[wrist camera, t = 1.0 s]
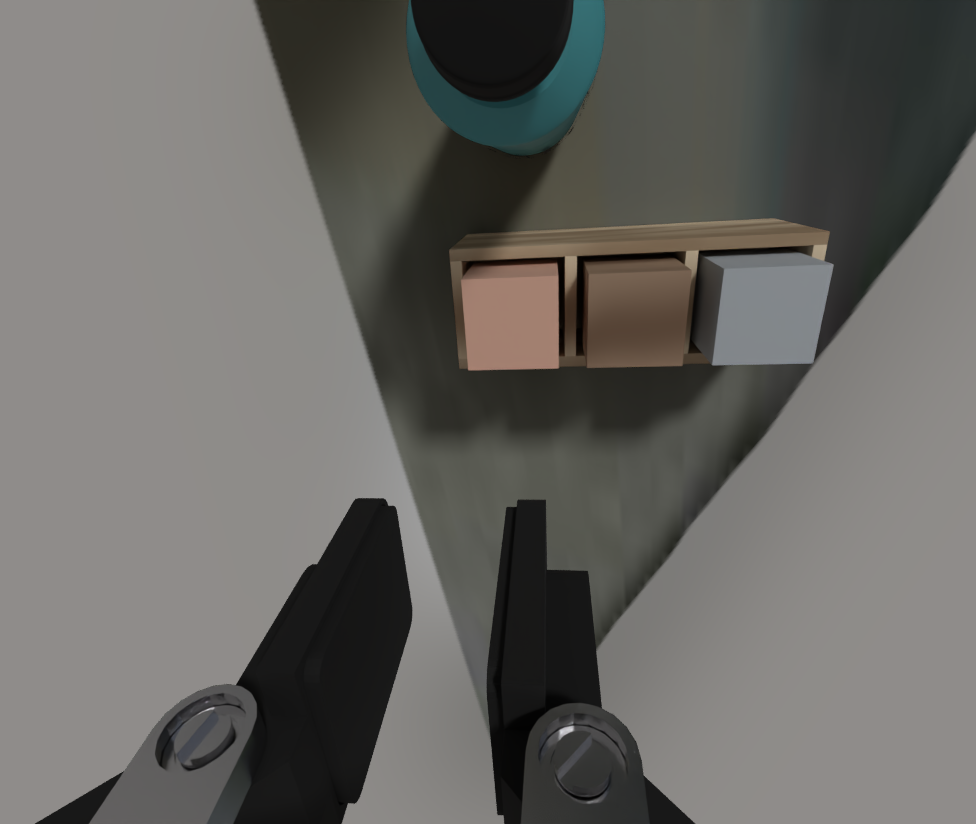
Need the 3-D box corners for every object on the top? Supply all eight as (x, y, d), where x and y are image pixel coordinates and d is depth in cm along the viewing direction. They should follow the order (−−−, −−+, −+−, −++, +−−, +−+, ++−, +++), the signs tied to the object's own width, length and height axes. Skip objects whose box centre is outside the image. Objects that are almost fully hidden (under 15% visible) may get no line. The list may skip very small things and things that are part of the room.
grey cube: (696, 252, 28) (724, 268, 24) (787, 248, 28) (833, 264, 23) (687, 335, 30) (712, 365, 26) (772, 333, 30) (813, 363, 25)
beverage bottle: (546, 179, 32) (544, 198, 14) (448, 123, 31) (314, 65, 13) (605, 66, 29) (697, -92, 11) (500, 0, 29) (419, -280, 11)
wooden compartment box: (467, 234, 34) (449, 249, 28) (773, 218, 32) (829, 231, 25) (474, 333, 37) (459, 368, 30) (756, 325, 34) (803, 361, 28)
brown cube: (582, 257, 29) (588, 274, 24) (669, 253, 28) (691, 270, 24) (581, 338, 31) (586, 367, 26) (662, 336, 30) (682, 366, 26)
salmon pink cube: (474, 262, 30) (460, 279, 25) (556, 258, 29) (558, 275, 25) (479, 341, 32) (468, 370, 27) (557, 338, 31) (558, 368, 27)
